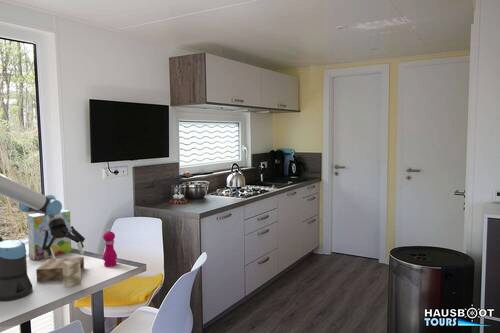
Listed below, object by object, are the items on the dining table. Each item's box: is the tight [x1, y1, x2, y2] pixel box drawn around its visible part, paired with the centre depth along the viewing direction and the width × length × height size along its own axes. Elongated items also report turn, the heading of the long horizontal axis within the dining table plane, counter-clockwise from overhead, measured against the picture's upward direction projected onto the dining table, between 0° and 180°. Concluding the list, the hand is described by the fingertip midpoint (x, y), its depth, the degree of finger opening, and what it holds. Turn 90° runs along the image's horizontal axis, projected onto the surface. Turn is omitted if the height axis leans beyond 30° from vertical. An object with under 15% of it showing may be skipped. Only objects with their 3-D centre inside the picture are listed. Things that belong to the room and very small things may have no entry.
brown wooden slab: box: [35, 256, 85, 283], centre depth 199 cm, size 18×16×6 cm
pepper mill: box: [102, 228, 118, 268], centre depth 212 cm, size 7×7×20 cm
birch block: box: [62, 259, 82, 289], centre depth 185 cm, size 6×6×11 cm
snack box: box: [27, 208, 72, 261], centre depth 230 cm, size 22×9×26 cm, turn 143°
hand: (68, 257), depth 192 cm, fingers open, 13 cm apart
